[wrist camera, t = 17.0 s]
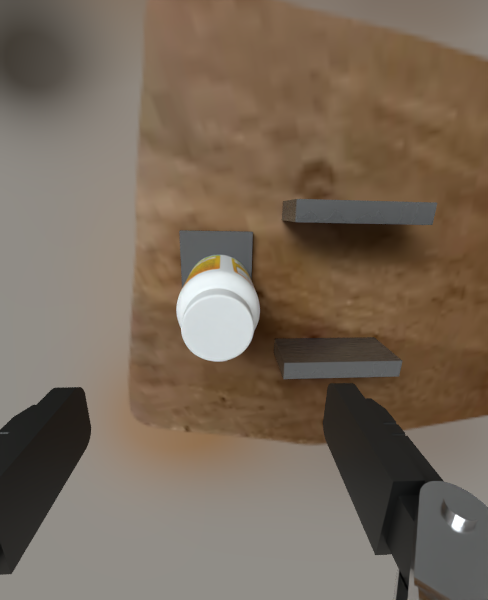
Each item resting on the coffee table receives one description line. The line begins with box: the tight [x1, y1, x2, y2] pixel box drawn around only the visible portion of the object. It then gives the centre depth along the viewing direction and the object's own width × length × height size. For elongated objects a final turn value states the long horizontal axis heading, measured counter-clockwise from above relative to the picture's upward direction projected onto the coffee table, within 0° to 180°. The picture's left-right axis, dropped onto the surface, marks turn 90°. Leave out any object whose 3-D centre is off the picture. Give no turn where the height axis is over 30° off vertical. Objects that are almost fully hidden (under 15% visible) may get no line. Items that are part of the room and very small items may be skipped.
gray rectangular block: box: [179, 231, 253, 288], centre depth 24 cm, size 6×9×1 cm, turn 179°
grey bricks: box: [274, 199, 437, 379], centre depth 23 cm, size 10×14×4 cm
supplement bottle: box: [176, 255, 260, 361], centre depth 20 cm, size 5×5×10 cm
